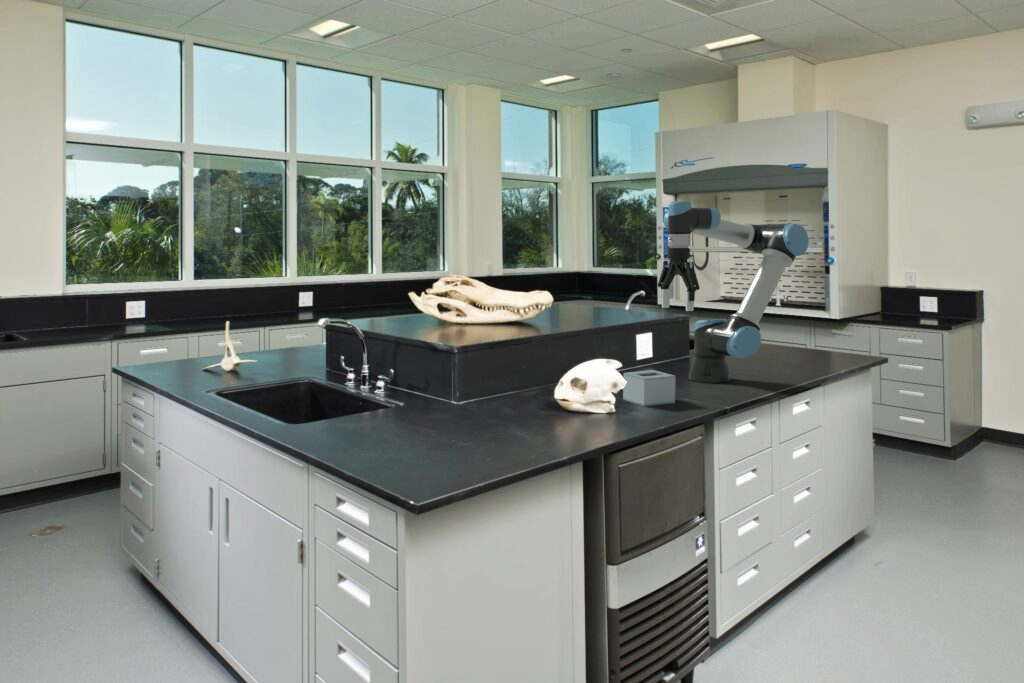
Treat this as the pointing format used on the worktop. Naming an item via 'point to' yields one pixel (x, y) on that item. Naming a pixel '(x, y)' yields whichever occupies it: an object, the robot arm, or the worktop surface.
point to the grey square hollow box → (649, 388)
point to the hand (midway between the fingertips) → (677, 309)
